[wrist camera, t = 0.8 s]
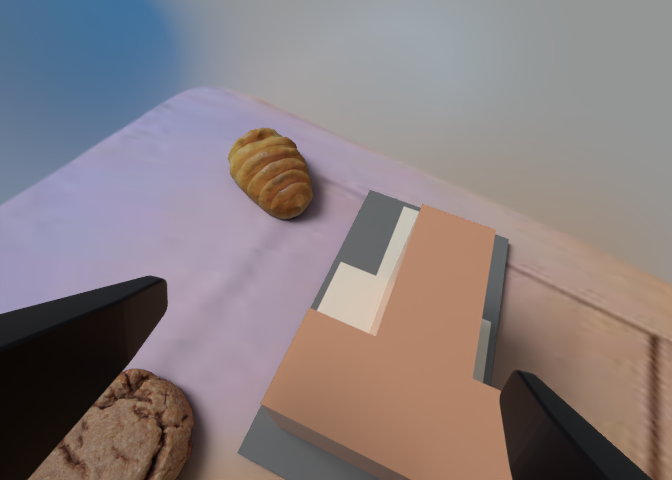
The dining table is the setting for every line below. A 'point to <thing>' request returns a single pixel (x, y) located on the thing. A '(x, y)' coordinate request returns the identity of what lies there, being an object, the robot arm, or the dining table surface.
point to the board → (365, 328)
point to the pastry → (271, 172)
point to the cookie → (126, 434)
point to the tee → (403, 368)
